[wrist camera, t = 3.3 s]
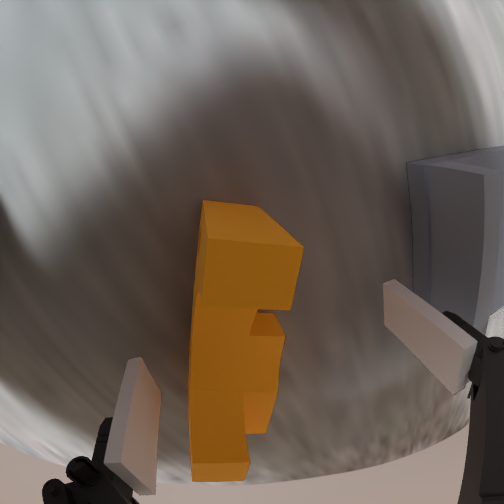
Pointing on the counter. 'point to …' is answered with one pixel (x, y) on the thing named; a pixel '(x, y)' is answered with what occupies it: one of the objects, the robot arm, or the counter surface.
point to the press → (459, 233)
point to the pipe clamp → (236, 334)
